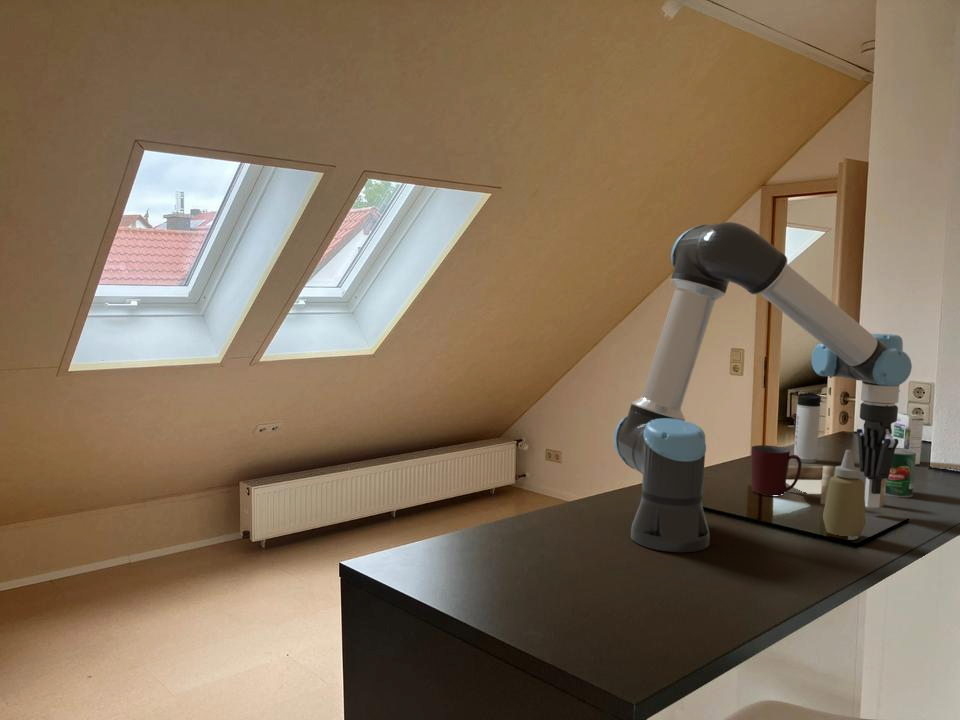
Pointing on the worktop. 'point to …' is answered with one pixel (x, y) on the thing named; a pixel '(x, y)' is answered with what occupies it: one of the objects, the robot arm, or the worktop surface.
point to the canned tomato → (901, 474)
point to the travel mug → (807, 427)
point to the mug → (771, 469)
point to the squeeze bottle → (845, 500)
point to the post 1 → (826, 481)
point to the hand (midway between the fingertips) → (871, 506)
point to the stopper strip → (805, 472)
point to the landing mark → (807, 486)
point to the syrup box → (909, 433)
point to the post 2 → (882, 493)
